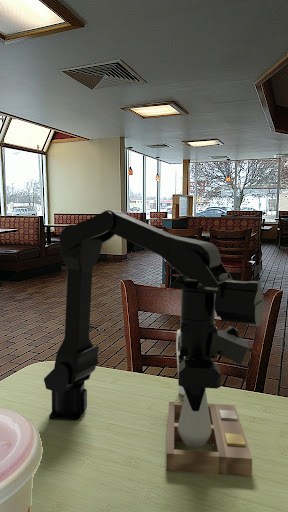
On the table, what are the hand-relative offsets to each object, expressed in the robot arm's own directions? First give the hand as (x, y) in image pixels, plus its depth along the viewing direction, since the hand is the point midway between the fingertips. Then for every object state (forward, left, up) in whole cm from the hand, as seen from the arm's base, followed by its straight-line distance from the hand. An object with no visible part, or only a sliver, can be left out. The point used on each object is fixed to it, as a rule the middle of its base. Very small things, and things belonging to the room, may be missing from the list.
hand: (195, 405), depth 65 cm
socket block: (+2, +4, -9) cm, 10 cm away
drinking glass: (0, +24, -9) cm, 26 cm away
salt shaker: (0, 0, -7) cm, 7 cm away
